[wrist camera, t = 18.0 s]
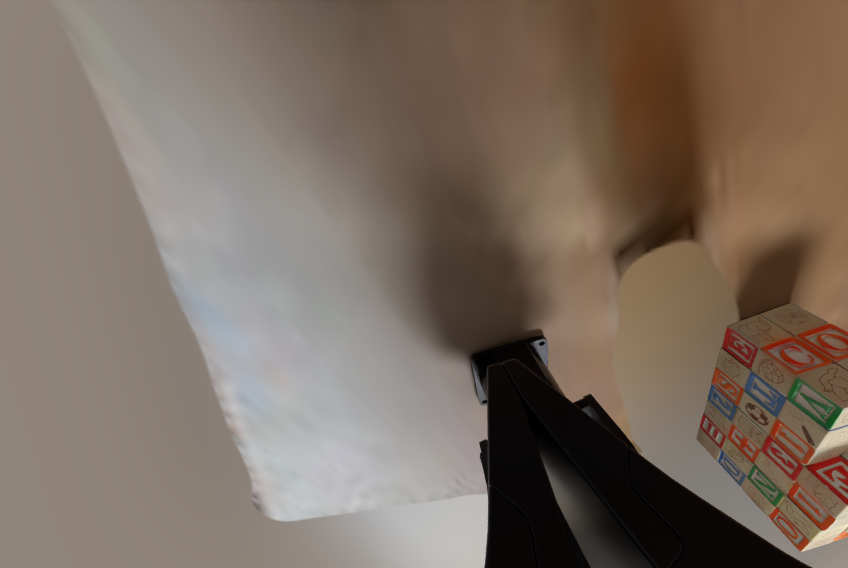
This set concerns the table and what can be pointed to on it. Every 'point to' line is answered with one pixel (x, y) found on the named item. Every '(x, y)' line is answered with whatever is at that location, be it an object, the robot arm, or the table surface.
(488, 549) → the robot arm
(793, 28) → the table surface
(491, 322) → the table surface
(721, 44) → the table surface
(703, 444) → the stack of blocks
